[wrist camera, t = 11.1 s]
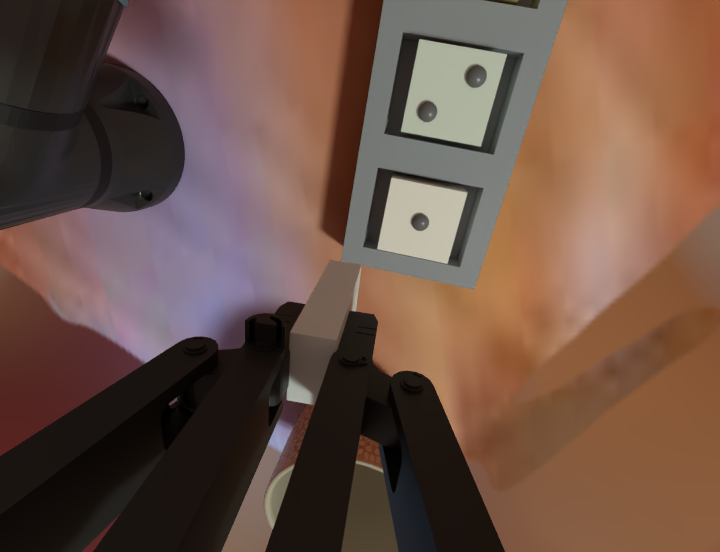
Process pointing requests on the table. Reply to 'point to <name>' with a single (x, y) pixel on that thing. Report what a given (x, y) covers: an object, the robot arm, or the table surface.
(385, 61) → the tile board
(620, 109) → the table surface
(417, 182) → the tile one
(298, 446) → the planter
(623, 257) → the table surface
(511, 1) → the tile three
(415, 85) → the tile two
